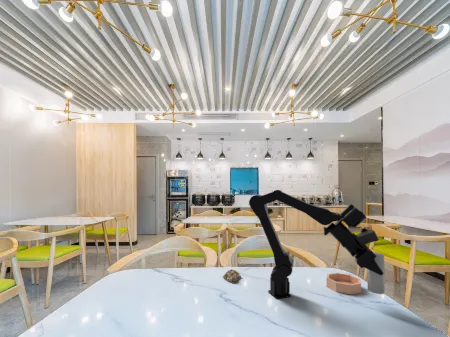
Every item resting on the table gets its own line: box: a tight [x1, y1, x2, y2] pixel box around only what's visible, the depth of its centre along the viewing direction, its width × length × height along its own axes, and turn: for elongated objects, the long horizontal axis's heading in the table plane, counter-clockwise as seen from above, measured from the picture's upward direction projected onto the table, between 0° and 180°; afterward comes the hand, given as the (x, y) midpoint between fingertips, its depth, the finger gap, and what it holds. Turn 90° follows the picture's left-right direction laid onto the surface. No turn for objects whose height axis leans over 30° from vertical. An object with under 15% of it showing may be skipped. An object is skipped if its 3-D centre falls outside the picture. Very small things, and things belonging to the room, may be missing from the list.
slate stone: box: [367, 251, 386, 295], centre depth 86 cm, size 5×5×12 cm
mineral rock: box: [222, 269, 242, 284], centre depth 111 cm, size 11×4×8 cm
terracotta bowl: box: [326, 272, 362, 295], centre depth 103 cm, size 13×13×4 cm
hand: (380, 271), depth 86 cm, fingers closed on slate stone, 5 cm apart
